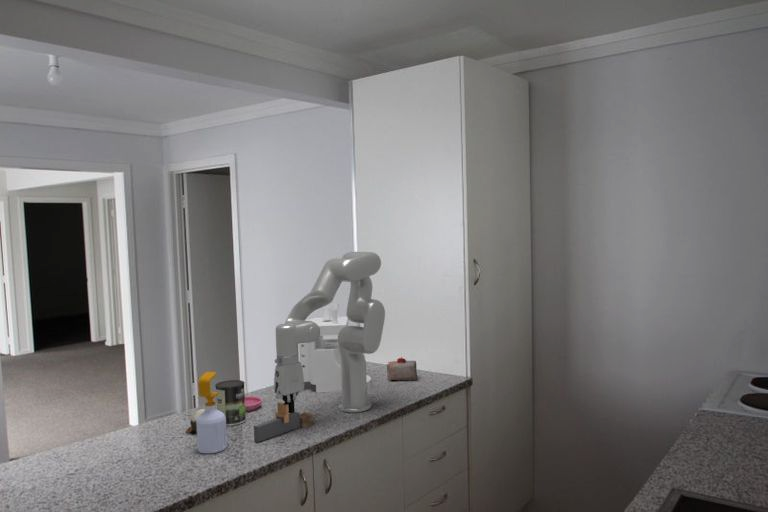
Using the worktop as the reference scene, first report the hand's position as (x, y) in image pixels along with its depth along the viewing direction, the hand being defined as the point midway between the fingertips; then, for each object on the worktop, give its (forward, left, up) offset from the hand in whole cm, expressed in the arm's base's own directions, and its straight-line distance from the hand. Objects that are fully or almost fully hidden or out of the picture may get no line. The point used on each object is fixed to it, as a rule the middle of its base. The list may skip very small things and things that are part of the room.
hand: (289, 412), depth 209 cm
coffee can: (+7, -25, -6) cm, 27 cm away
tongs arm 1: (+6, -1, -6) cm, 8 cm away
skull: (+18, -25, -7) cm, 32 cm away
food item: (-74, -10, -7) cm, 75 cm away
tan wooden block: (+3, 0, -2) cm, 4 cm away
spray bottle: (+27, -7, -6) cm, 28 cm away
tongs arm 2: (+6, +1, -6) cm, 8 cm away
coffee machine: (-51, -29, -6) cm, 59 cm away
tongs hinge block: (-6, 0, -6) cm, 9 cm away
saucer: (-6, -34, -7) cm, 35 cm away
